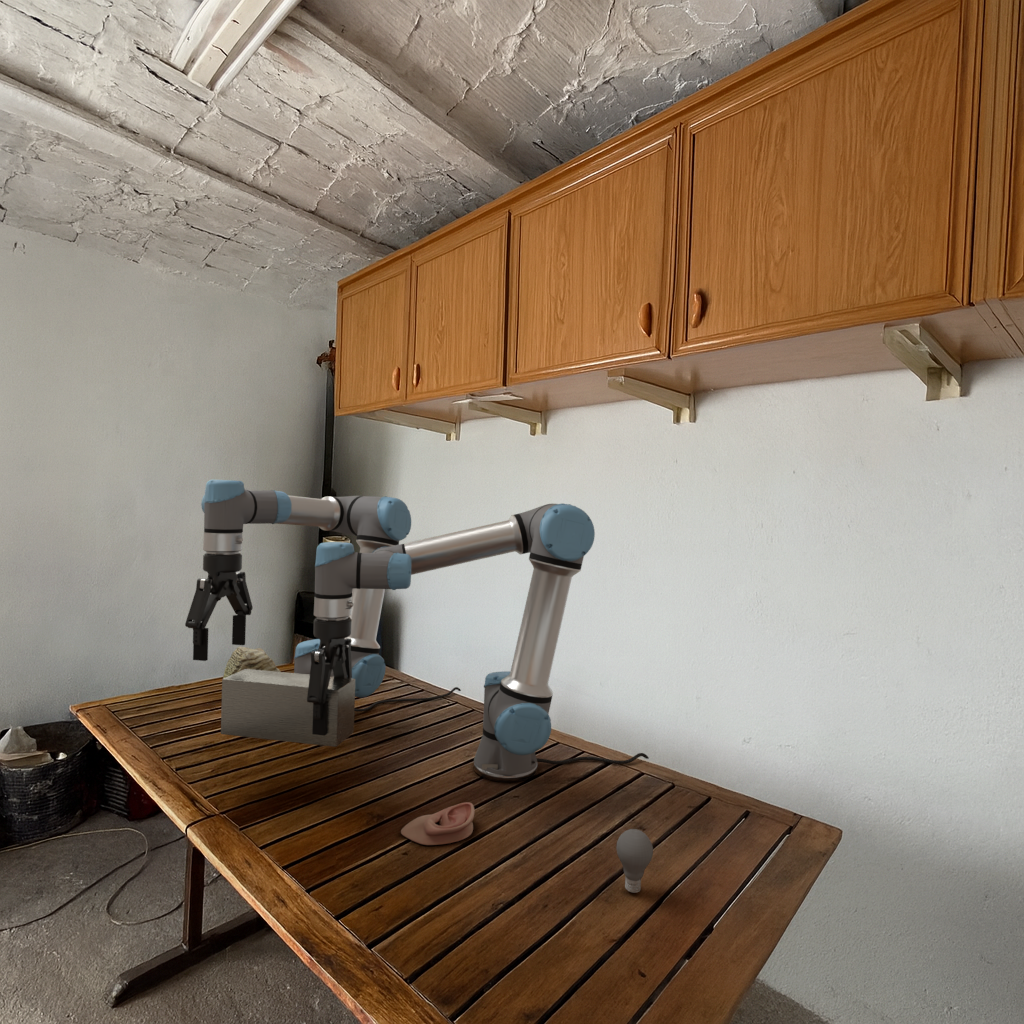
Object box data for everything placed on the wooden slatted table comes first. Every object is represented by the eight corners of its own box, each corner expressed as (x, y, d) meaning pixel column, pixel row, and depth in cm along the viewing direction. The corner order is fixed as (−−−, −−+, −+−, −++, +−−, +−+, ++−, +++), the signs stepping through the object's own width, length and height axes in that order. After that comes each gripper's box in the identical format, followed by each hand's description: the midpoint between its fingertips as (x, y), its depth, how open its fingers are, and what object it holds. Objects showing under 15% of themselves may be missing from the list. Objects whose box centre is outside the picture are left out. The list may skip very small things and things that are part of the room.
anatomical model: (395, 819, 118) (416, 792, 129) (394, 840, 118) (415, 811, 129) (464, 829, 115) (479, 801, 126) (463, 851, 115) (479, 820, 126)
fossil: (218, 695, 195) (220, 647, 195) (278, 685, 208) (279, 640, 207) (228, 703, 189) (230, 653, 188) (289, 692, 201) (290, 645, 201)
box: (220, 734, 131) (222, 678, 131) (244, 720, 139) (245, 668, 139) (336, 747, 126) (338, 690, 126) (353, 732, 135) (355, 678, 134)
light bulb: (610, 879, 108) (613, 822, 108) (644, 879, 109) (647, 822, 109) (619, 902, 102) (622, 840, 102) (655, 901, 103) (658, 840, 103)
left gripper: (202, 559, 121) (199, 668, 122) (270, 548, 146) (267, 640, 147) (166, 557, 122) (164, 665, 123) (239, 547, 147) (237, 637, 148)
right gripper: (326, 628, 120) (322, 747, 120) (370, 609, 140) (367, 711, 141) (289, 625, 121) (286, 743, 121) (338, 607, 142) (335, 708, 142)
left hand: (220, 652), depth 135 cm, fingers open, 13 cm apart
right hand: (329, 726), depth 131 cm, fingers closed on box, 8 cm apart
